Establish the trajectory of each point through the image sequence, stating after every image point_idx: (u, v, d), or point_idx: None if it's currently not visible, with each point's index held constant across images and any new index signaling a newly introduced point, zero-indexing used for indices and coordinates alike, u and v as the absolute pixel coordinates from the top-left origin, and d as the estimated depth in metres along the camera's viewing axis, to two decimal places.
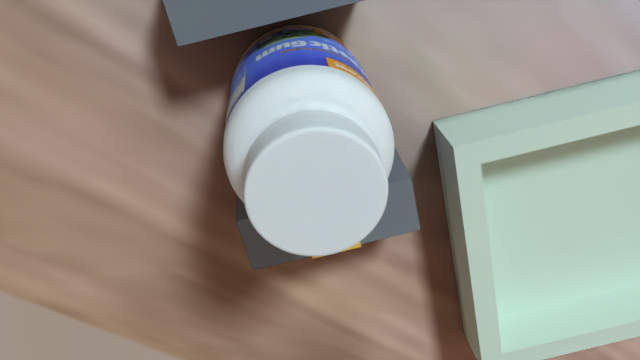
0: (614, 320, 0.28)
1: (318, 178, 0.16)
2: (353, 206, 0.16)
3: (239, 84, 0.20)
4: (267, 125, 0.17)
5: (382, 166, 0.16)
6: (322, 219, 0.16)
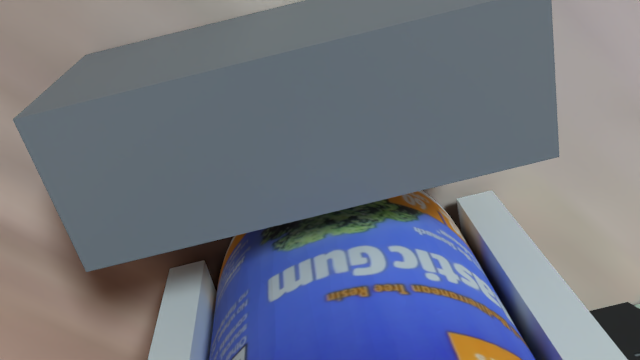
0: None
1: None
2: None
3: None
4: None
5: None
6: None
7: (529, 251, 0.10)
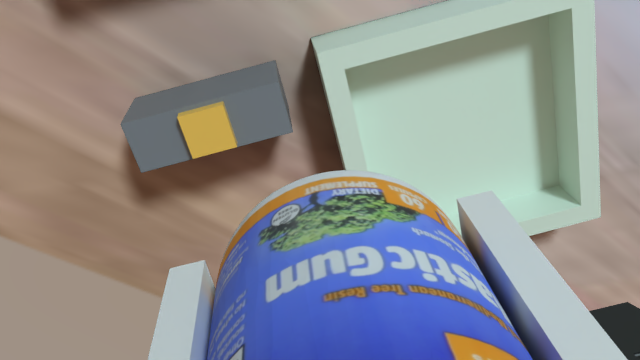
0: None
1: None
2: None
3: None
4: None
5: None
6: None
7: (529, 251, 0.10)
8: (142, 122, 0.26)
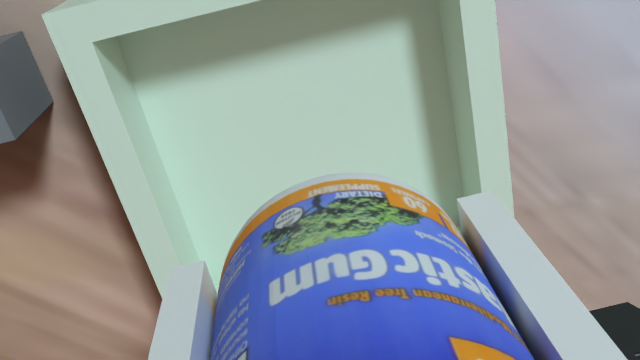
0: None
1: None
2: None
3: None
4: None
5: None
6: None
7: (529, 251, 0.10)
8: None
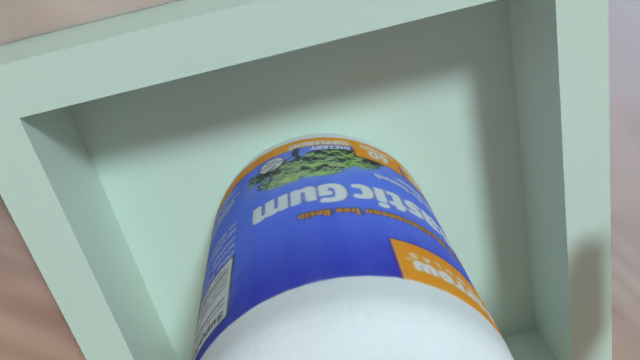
0: None
1: None
2: None
3: (220, 275, 0.10)
4: None
5: None
6: None
7: None
8: None
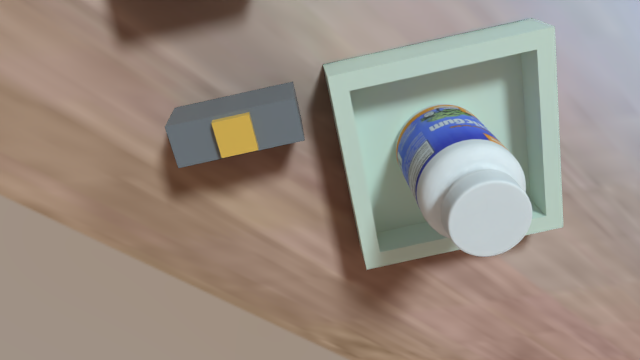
0: None
1: (493, 210, 0.27)
2: (510, 227, 0.27)
3: (423, 146, 0.31)
4: (455, 175, 0.28)
5: (530, 204, 0.27)
6: (491, 234, 0.27)
7: None
8: (182, 126, 0.31)
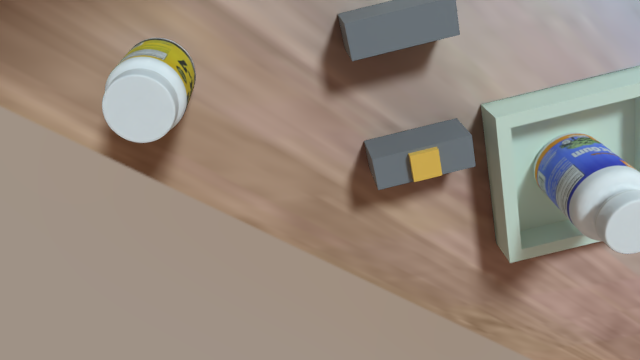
0: None
1: (639, 220, 0.37)
2: None
3: (570, 169, 0.41)
4: (605, 194, 0.38)
5: None
6: (635, 237, 0.37)
7: None
8: (385, 158, 0.41)
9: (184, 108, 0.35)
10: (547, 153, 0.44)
